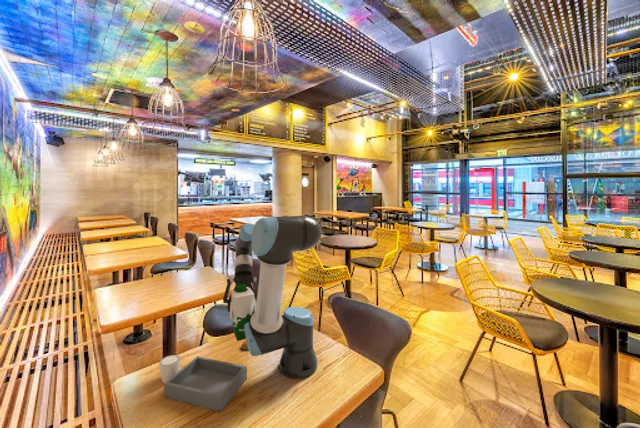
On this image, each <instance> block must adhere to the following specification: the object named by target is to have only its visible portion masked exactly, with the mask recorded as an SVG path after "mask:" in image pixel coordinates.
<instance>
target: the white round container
mask: <svg viewBox="0 0 640 428" xmlns="http://www.w3.org/2000/svg"><path fill="white" fill-rule="evenodd" d="M180 361H181V357H180V356H179V355H177V354H172V355H167V356H165V357H163V358H161V360H160V361H159V362H158V365H159V371H160V378H161V382H163V384H164V383H166V382H167V381H168V380H169V379H170V378H172V377H173V376H174V375H175V374H176V373H178V372H179V371H180Z"/></svg>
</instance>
